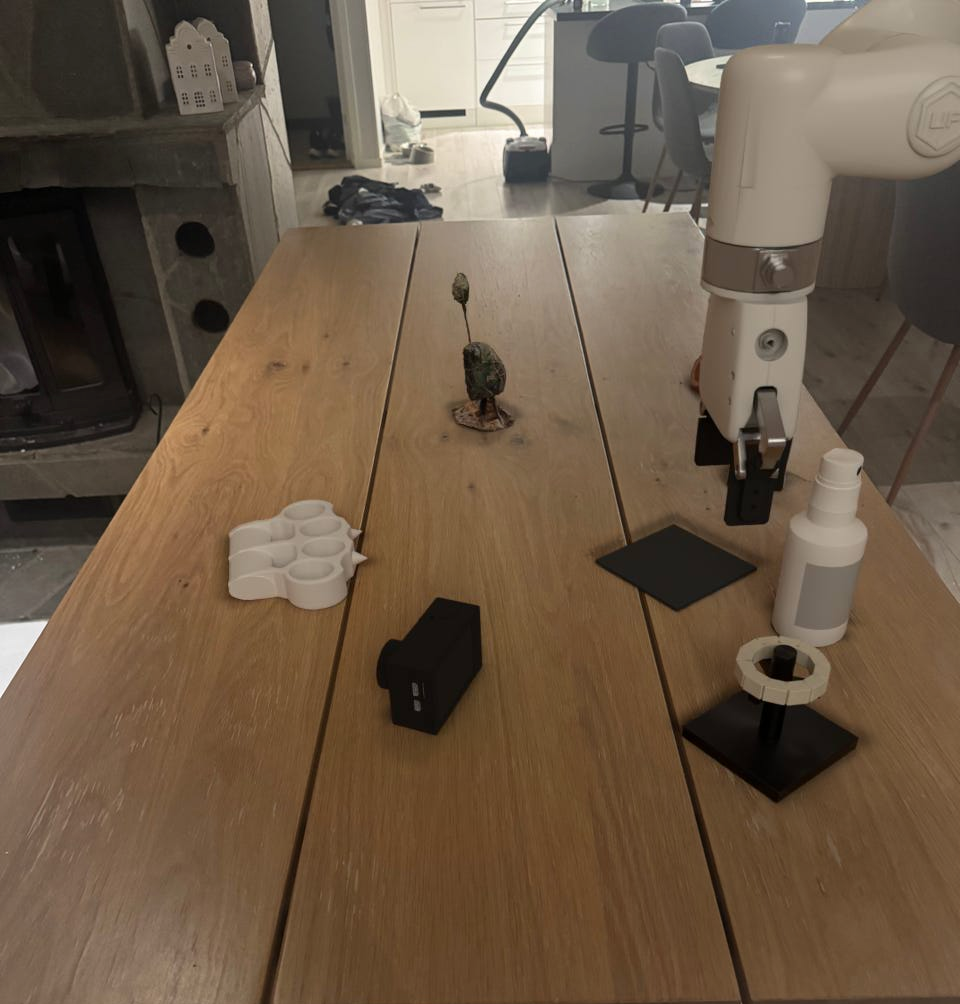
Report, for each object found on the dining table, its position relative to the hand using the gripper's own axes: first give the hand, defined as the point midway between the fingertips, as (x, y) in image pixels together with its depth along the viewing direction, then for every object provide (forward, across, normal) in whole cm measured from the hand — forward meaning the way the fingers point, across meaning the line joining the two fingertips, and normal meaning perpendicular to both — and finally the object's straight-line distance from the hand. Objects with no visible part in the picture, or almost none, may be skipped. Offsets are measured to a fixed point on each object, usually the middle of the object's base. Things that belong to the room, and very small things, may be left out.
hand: (728, 492), depth 74 cm
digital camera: (+20, +1, +24) cm, 31 cm away
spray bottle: (+20, +8, -12) cm, 24 cm away
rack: (+20, -8, -4) cm, 21 cm away
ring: (+12, -8, -4) cm, 15 cm away
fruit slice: (+20, +67, -17) cm, 72 cm away
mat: (+20, +20, -2) cm, 28 cm away
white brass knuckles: (+20, +24, +39) cm, 50 cm away
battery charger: (+20, +38, -15) cm, 45 cm away
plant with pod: (+20, +60, +17) cm, 65 cm away
